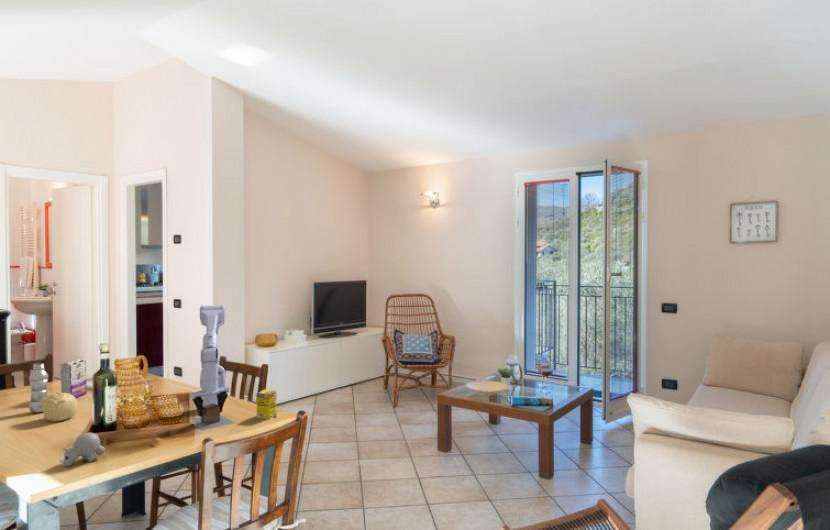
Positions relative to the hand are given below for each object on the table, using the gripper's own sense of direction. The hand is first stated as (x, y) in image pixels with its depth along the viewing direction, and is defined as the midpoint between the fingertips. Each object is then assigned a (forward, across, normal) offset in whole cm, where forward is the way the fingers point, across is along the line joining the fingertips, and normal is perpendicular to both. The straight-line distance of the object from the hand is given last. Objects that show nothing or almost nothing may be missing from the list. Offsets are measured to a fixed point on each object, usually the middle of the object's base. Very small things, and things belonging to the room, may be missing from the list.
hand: (210, 413), depth 205 cm
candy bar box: (+4, -28, +82) cm, 87 cm away
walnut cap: (+3, 0, 0) cm, 3 cm away
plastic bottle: (+4, -44, +65) cm, 79 cm away
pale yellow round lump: (+4, -40, +48) cm, 63 cm away
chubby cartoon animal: (+4, -45, -8) cm, 46 cm away
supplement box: (+4, +19, -9) cm, 21 cm away
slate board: (+4, 0, 0) cm, 4 cm away
